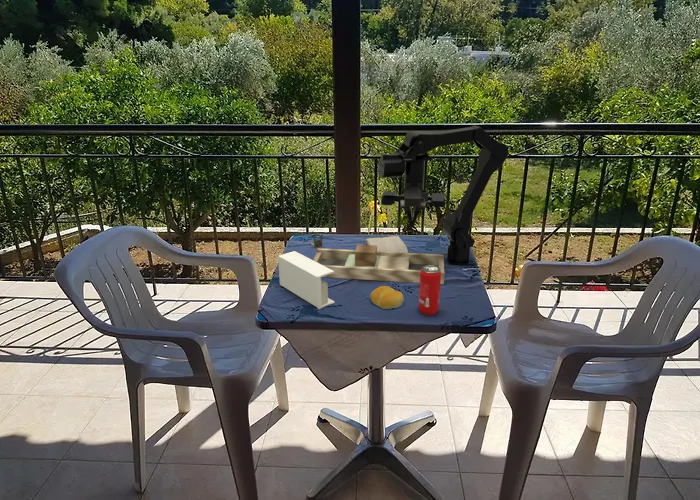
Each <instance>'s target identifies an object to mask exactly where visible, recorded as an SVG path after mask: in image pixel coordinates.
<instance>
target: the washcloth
mask: <svg viewBox="0 0 700 500" xmlns="http://www.w3.org/2000/svg"><path fill="white" fill-rule="evenodd" d="M365 243H366V244H365V245H377V251H380V252H399V253H409V250H408V248H407V245H406V244H405V243H404V241H403V240H402V239H401V238H400V236H398V235H391V236H385V237H368V238H366V239H365Z"/></svg>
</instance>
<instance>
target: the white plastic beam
mask: <svg viewBox="0 0 700 500" xmlns="http://www.w3.org/2000/svg"><path fill="white" fill-rule="evenodd" d="M277 258H278V259H277V260H278V275H279V278H278V279H279V286H282V287H283V288H285V289H286V290H288V291H289V292H291V293H292V294H294V295H296V296H298V297H299V298H301V299H302V300H305V301H306V302H307V303H309V304H310V305H313V306H314V307H316V308H317V310H320V309H322V308H325V307H327V306H331V305H332V304H333V305H334V304H335V303H336V302H335V300H333V299H331V298H329V288H328V285H329V284H328V282H327V281H325V280H322V278H324V277H323V276H326V275H329V274H332V273H334V271H333V270H331V269H329V268H327V267H325V266H323V265H321V264H319V263H317V262H315V261H313V259H311V258H309V257H307V256H306V255H303V254H301V253H299V252H297V251H295V250H293V251H291V252H287V253H286V252H285V253H283V254H279V255H277Z"/></svg>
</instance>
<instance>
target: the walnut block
mask: <svg viewBox="0 0 700 500" xmlns="http://www.w3.org/2000/svg"><path fill="white" fill-rule="evenodd" d="M354 250H355V266H370V267H375V264H376V260H377V245H367V244H357V246H356V248H355V249H354Z"/></svg>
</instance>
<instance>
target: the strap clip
mask: <svg viewBox="0 0 700 500" xmlns="http://www.w3.org/2000/svg"><path fill="white" fill-rule="evenodd" d="M316 238H320V239H316ZM309 244H311V245H312V247H313V246H314V247H313V248H315V247H316V249H317V248H321V249H326V248H325V246H323V238H322V236H321V235H318V236H314V237H313V241H310V242H309ZM311 245H310V246H311ZM322 247H323V248H322ZM316 249H315V250H316Z"/></svg>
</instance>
